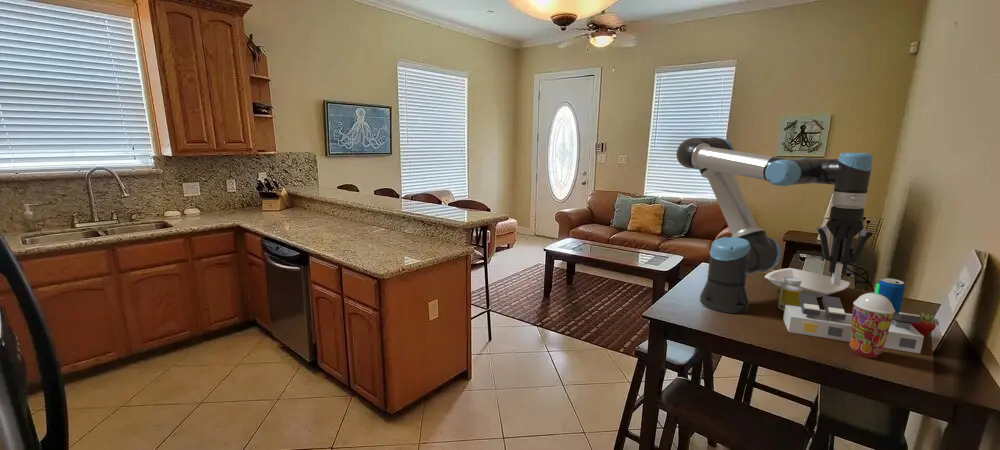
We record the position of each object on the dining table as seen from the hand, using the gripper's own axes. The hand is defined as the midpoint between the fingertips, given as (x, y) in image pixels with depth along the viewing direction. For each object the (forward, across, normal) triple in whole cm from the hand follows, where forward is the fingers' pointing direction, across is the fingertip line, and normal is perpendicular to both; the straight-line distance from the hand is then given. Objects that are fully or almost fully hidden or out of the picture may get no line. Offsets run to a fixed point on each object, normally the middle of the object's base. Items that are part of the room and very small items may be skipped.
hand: (835, 283), depth 125 cm
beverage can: (+15, +20, +20) cm, 32 cm away
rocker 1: (+7, -6, -3) cm, 10 cm away
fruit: (+15, +23, +4) cm, 27 cm away
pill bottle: (+15, -8, +12) cm, 21 cm away
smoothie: (+15, +5, -14) cm, 21 cm away
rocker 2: (+7, 0, -3) cm, 7 cm away
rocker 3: (+7, +16, -3) cm, 17 cm away
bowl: (+15, 0, +32) cm, 35 cm away
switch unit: (+15, +4, -3) cm, 15 cm away
